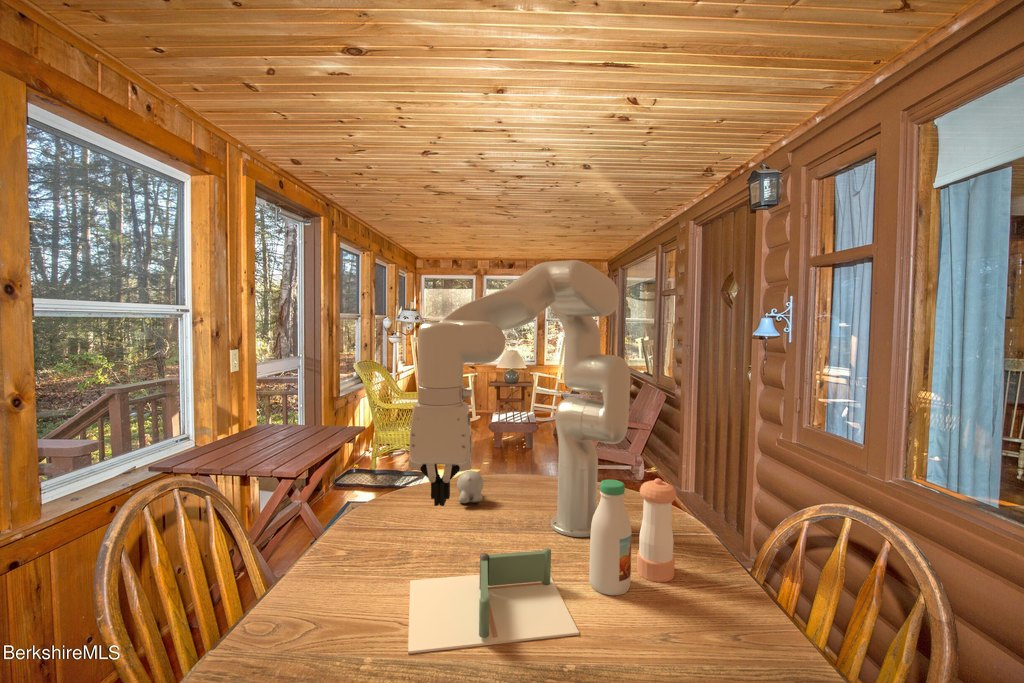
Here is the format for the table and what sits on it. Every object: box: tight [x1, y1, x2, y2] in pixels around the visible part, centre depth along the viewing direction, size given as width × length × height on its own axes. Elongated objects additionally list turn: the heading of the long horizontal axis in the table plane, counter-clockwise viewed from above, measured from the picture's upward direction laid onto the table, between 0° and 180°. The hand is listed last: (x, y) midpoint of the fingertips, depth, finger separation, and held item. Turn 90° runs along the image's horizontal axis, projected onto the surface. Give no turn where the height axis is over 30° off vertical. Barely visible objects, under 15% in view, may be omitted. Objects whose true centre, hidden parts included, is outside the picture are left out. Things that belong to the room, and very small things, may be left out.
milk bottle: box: [588, 479, 632, 596], centre depth 93 cm, size 8×8×20 cm
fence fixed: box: [479, 547, 552, 590], centre depth 92 cm, size 14×2×7 cm, turn 101°
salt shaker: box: [636, 477, 677, 583], centre depth 98 cm, size 7×7×19 cm
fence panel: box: [479, 561, 490, 638], centre depth 83 cm, size 13×2×6 cm, turn 3°
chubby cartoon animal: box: [456, 470, 484, 504], centre depth 135 cm, size 7×12×8 cm, turn 8°
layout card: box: [407, 574, 580, 655], centre depth 86 cm, size 27×20×1 cm
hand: (440, 502), depth 83 cm, fingers closed
